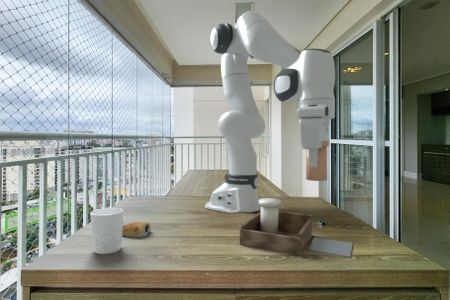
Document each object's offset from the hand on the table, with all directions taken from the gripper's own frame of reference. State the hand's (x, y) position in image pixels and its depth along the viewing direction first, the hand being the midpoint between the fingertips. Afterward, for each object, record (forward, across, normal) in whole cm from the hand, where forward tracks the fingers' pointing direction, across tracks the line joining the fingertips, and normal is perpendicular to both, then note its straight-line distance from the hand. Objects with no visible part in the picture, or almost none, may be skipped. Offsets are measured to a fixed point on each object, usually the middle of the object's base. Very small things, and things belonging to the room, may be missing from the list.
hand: (316, 165), depth 77 cm
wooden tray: (+22, 0, -11) cm, 24 cm away
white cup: (+21, +26, -48) cm, 59 cm away
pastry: (+21, +13, -50) cm, 56 cm away
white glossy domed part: (+21, -3, -14) cm, 26 cm away
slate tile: (+22, -1, +3) cm, 22 cm away
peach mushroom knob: (+4, 0, 0) cm, 4 cm away
